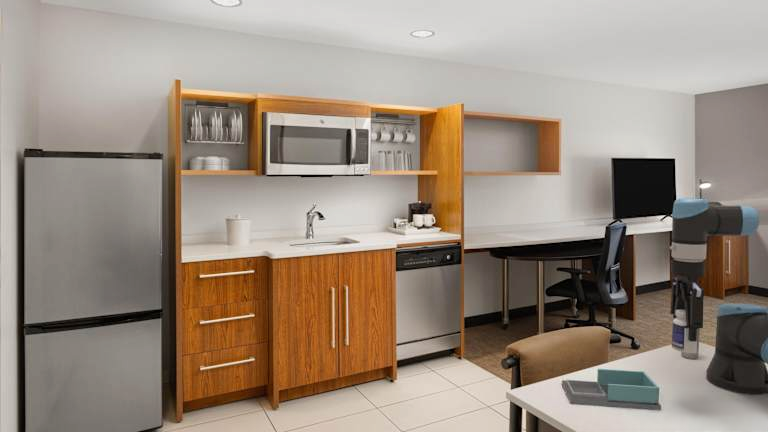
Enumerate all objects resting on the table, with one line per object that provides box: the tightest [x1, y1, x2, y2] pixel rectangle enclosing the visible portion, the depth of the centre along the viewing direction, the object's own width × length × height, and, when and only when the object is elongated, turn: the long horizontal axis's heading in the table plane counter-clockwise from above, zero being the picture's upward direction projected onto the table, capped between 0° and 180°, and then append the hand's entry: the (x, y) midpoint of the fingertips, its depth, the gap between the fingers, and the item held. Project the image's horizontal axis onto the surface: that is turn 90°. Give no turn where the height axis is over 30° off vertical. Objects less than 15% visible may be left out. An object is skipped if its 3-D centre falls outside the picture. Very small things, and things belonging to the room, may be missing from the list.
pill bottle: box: [671, 310, 698, 353], centre depth 129 cm, size 6×6×10 cm
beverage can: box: [680, 328, 701, 360], centre depth 164 cm, size 5×5×12 cm
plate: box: [561, 379, 662, 411], centre depth 135 cm, size 22×12×2 cm, turn 81°
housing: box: [596, 368, 660, 404], centre depth 134 cm, size 12×11×4 cm
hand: (684, 348), depth 129 cm, fingers closed on pill bottle, 6 cm apart
